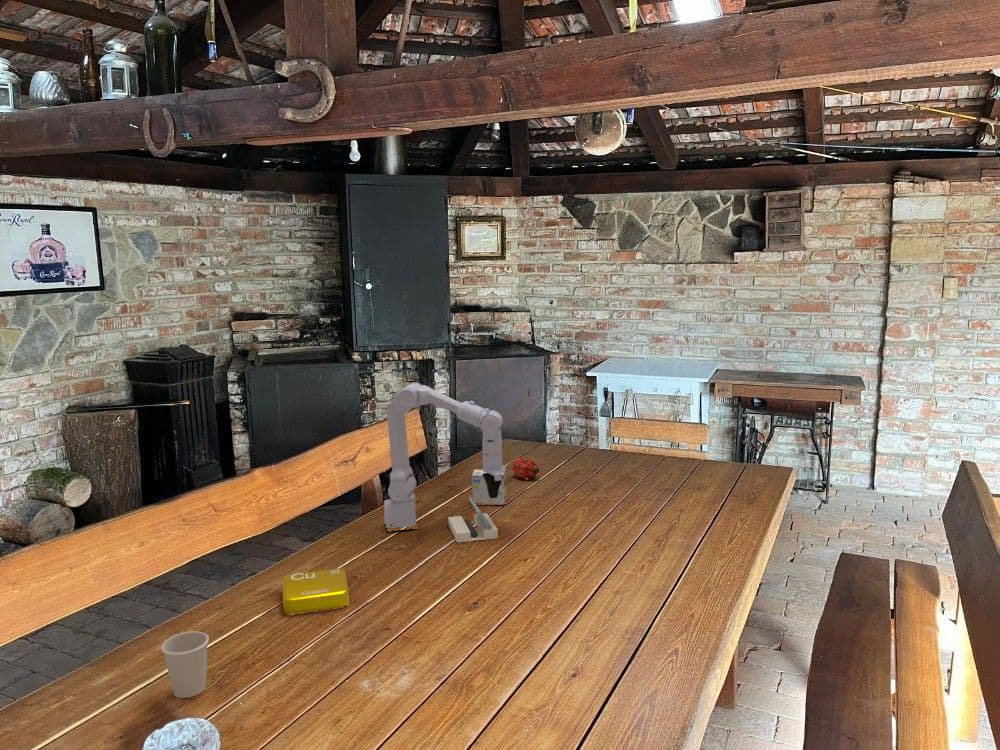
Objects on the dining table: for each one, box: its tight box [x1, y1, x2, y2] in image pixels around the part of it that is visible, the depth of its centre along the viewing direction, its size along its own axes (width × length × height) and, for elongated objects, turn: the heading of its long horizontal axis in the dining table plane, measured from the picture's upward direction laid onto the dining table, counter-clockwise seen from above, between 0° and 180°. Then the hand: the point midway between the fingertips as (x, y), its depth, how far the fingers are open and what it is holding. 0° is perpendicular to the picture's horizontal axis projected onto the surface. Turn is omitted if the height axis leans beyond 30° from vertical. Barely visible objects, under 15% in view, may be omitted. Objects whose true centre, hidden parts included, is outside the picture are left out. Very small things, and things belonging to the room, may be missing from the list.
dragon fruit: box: [510, 456, 540, 479], centre depth 275 cm, size 8×8×12 cm
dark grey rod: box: [464, 519, 478, 538], centre depth 222 cm, size 2×10×2 cm, turn 15°
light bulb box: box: [471, 468, 507, 505], centre depth 248 cm, size 11×7×11 cm, turn 84°
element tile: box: [282, 567, 350, 614], centre depth 182 cm, size 15×15×5 cm
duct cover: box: [468, 496, 492, 529], centre depth 222 cm, size 6×13×1 cm
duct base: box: [447, 513, 499, 542], centre depth 222 cm, size 12×14×3 cm
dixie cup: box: [160, 630, 210, 698], centre depth 143 cm, size 8×8×10 cm
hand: (493, 497), depth 222 cm, fingers closed
